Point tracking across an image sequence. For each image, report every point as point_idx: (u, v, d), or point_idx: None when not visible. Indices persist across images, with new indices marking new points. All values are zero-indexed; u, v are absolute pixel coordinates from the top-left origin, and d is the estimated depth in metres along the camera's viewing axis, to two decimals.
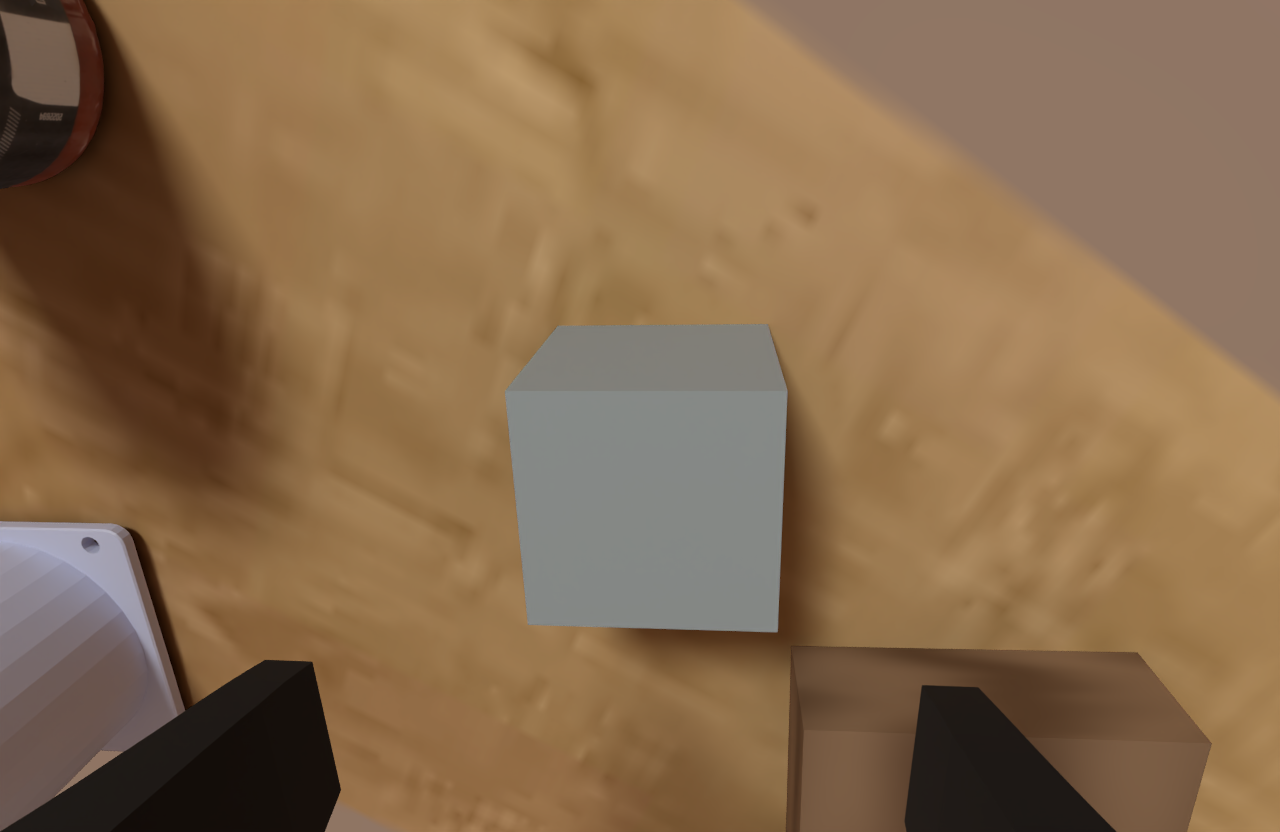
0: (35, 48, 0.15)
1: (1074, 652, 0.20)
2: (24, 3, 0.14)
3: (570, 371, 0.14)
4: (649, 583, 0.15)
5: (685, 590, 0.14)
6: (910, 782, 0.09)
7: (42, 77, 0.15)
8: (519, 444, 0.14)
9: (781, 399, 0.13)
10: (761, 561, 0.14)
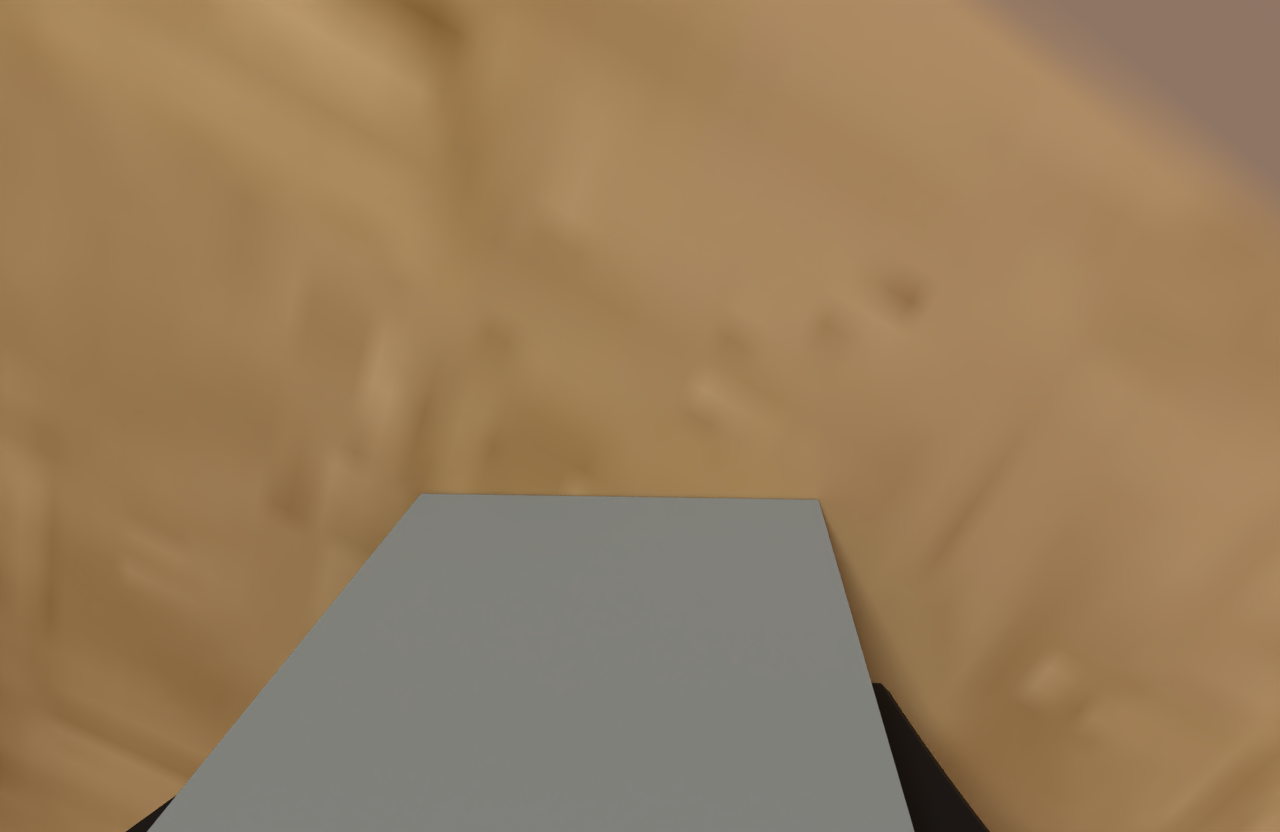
0: None
1: None
2: None
3: (366, 710, 0.06)
4: None
5: None
6: None
7: None
8: None
9: None
10: None
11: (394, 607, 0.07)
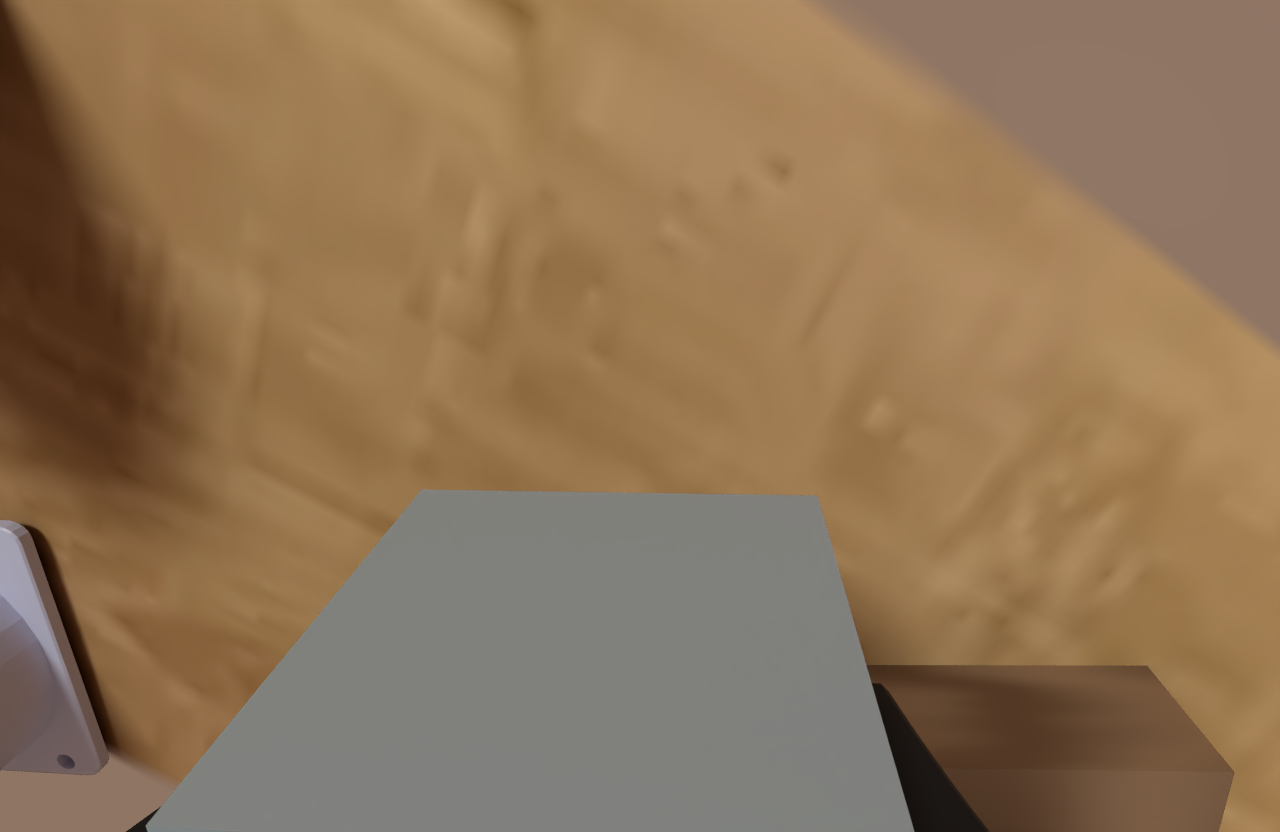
0: None
1: (1075, 666, 0.18)
2: None
3: (367, 702, 0.06)
4: None
5: None
6: None
7: None
8: None
9: None
10: None
11: (395, 601, 0.07)
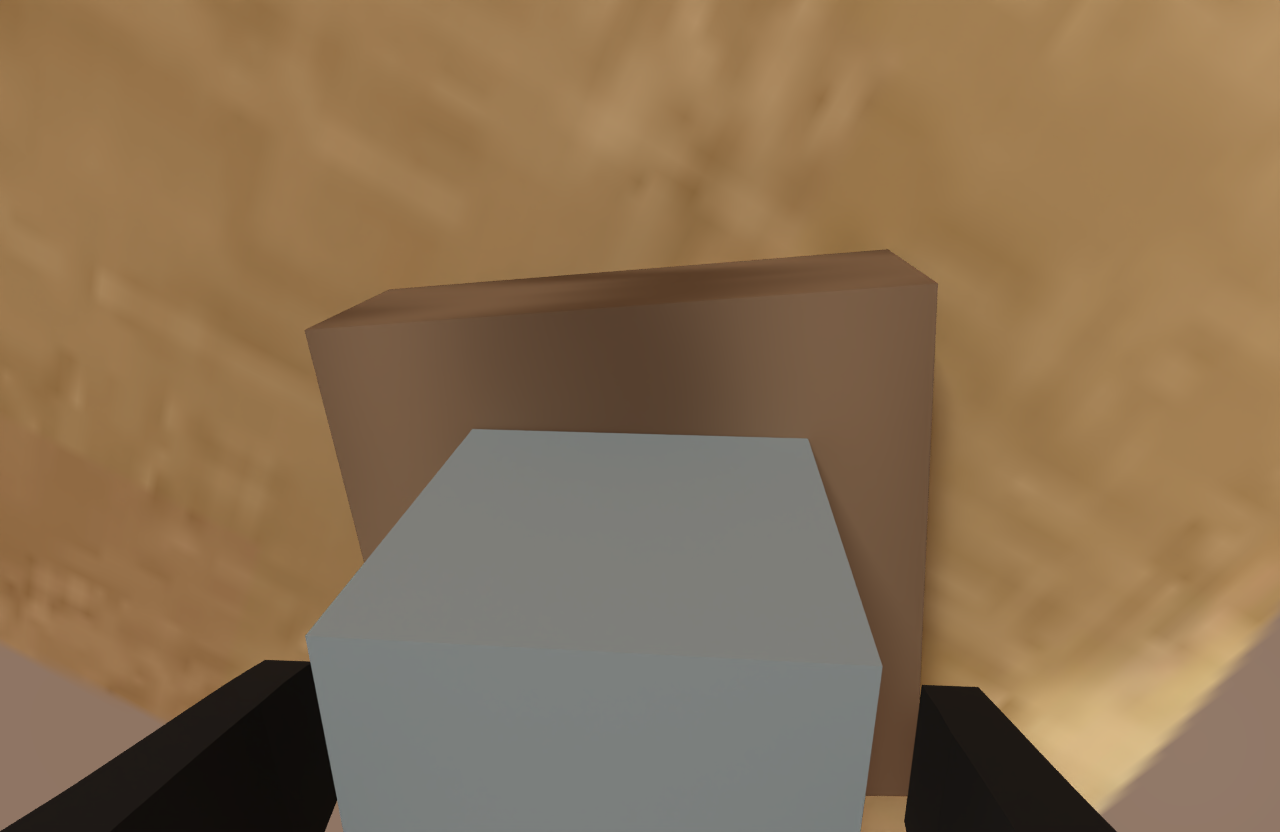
0: None
1: None
2: None
3: (456, 568, 0.08)
4: None
5: None
6: (910, 782, 0.09)
7: None
8: (341, 729, 0.07)
9: (868, 679, 0.06)
10: None
11: (465, 504, 0.09)
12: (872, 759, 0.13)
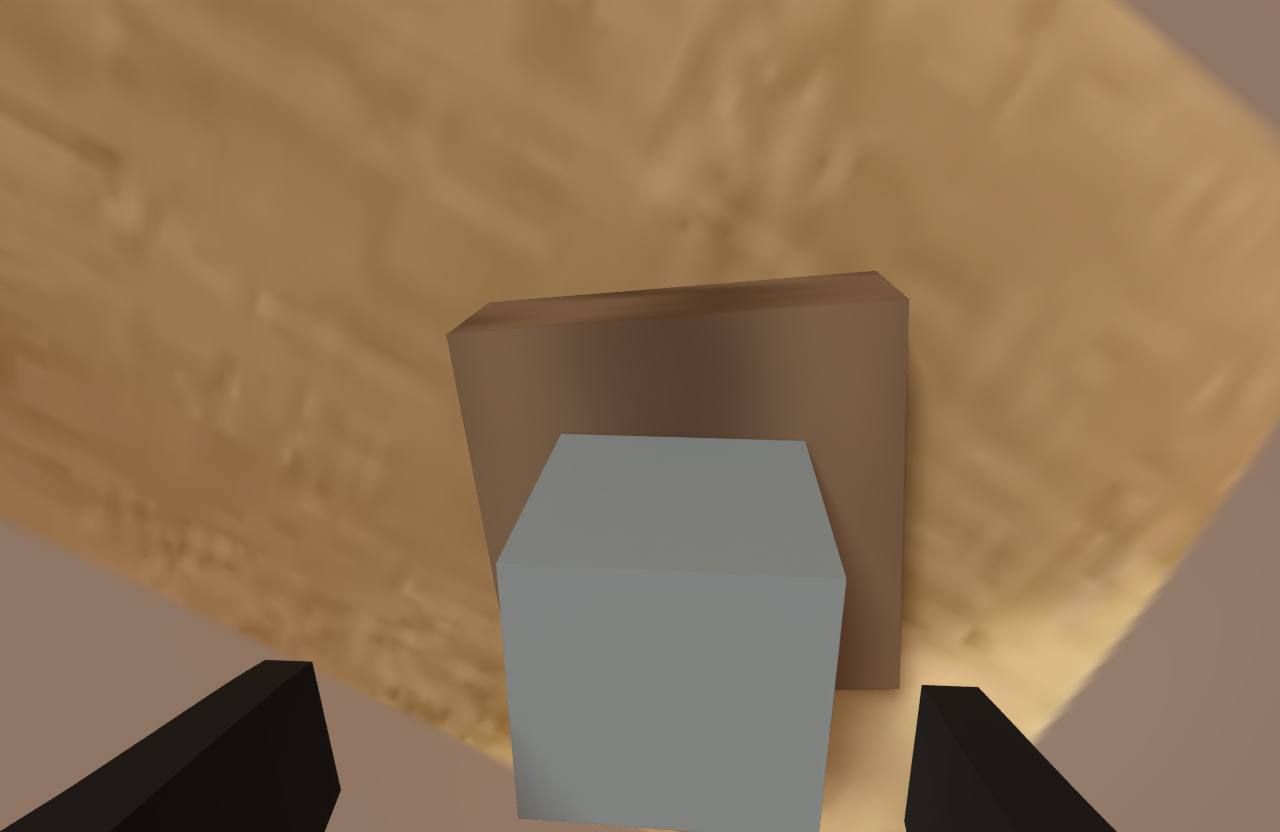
0: None
1: None
2: None
3: (576, 525, 0.12)
4: (666, 781, 0.12)
5: (709, 791, 0.12)
6: (910, 782, 0.09)
7: None
8: (512, 623, 0.11)
9: (838, 587, 0.10)
10: (803, 763, 0.12)
11: (571, 486, 0.13)
12: (866, 659, 0.17)
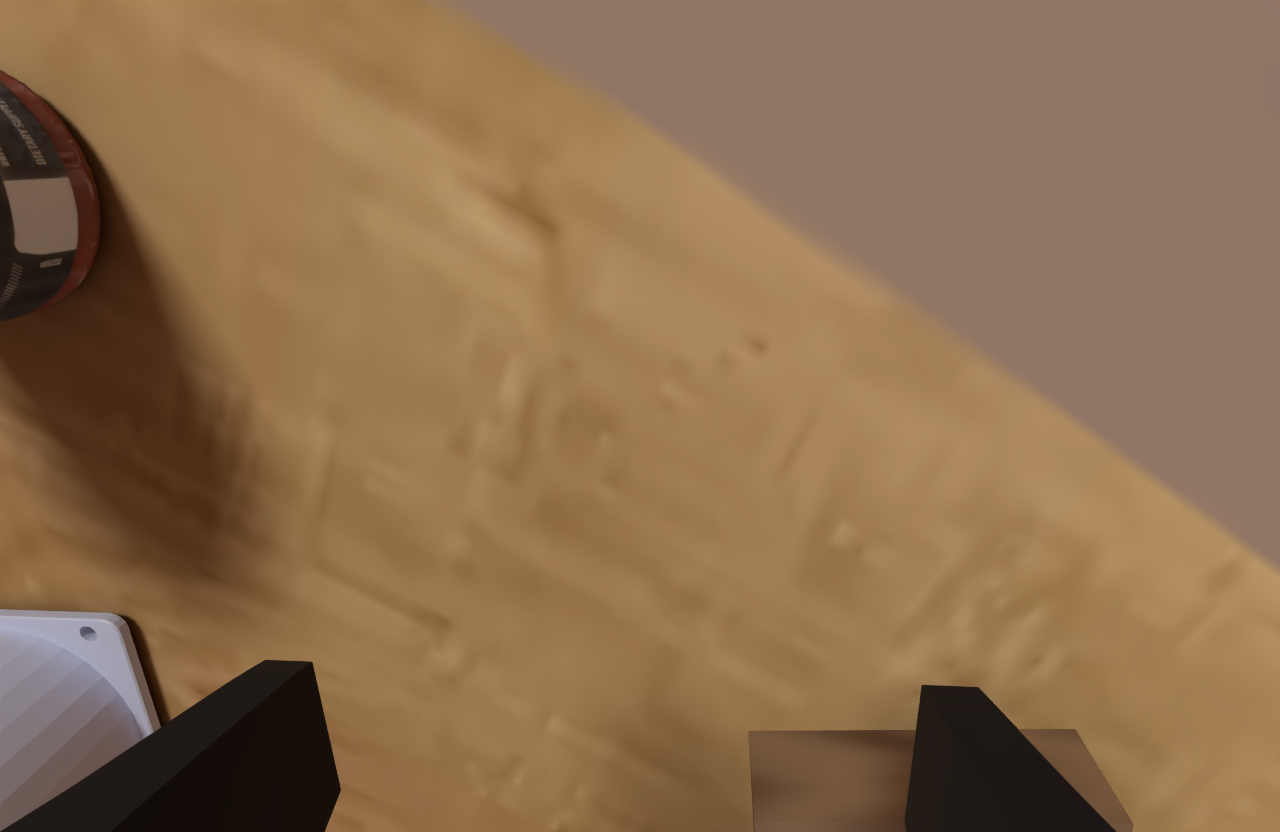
0: (36, 207, 0.16)
1: None
2: (26, 167, 0.16)
3: None
4: None
5: None
6: (910, 782, 0.09)
7: (43, 231, 0.16)
8: None
9: None
10: None
11: None
12: None
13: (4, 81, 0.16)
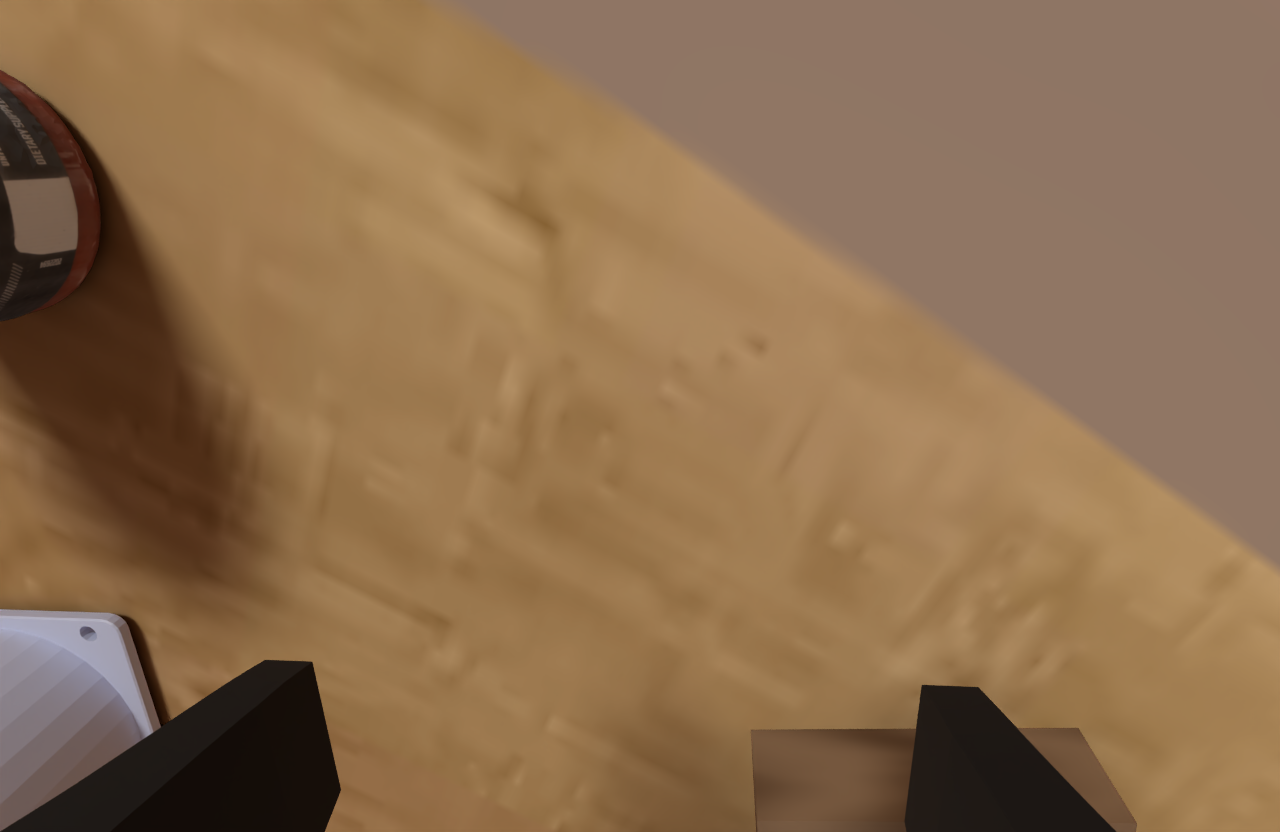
0: (36, 207, 0.16)
1: None
2: (26, 167, 0.16)
3: None
4: None
5: None
6: (910, 782, 0.09)
7: (43, 231, 0.16)
8: None
9: None
10: None
11: None
12: None
13: (4, 81, 0.16)
